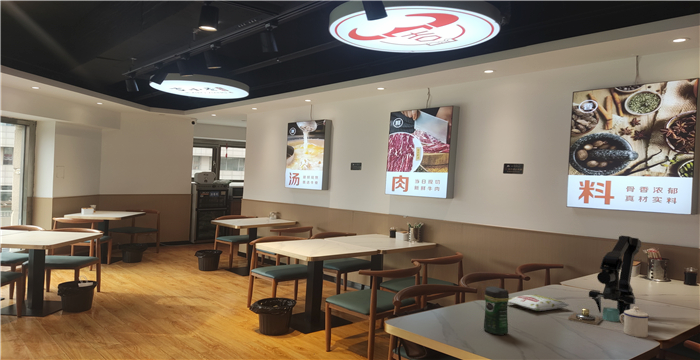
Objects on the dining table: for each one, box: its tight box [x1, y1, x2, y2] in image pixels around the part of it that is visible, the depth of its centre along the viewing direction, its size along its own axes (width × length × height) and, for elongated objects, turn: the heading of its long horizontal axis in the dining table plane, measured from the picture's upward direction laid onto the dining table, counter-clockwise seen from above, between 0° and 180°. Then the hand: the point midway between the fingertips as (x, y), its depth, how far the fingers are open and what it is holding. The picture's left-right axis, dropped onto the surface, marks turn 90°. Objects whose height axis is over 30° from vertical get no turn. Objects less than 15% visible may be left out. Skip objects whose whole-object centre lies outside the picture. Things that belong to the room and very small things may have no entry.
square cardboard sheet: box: [567, 308, 603, 326], centre depth 216 cm, size 12×12×5 cm
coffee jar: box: [483, 285, 510, 336], centre depth 192 cm, size 10×8×19 cm
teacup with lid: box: [619, 306, 650, 338], centre depth 198 cm, size 12×9×12 cm
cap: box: [602, 306, 620, 323], centre depth 218 cm, size 6×6×5 cm
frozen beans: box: [508, 294, 570, 312], centre depth 236 cm, size 21×6×25 cm
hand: (611, 314), depth 219 cm, fingers open, 9 cm apart
